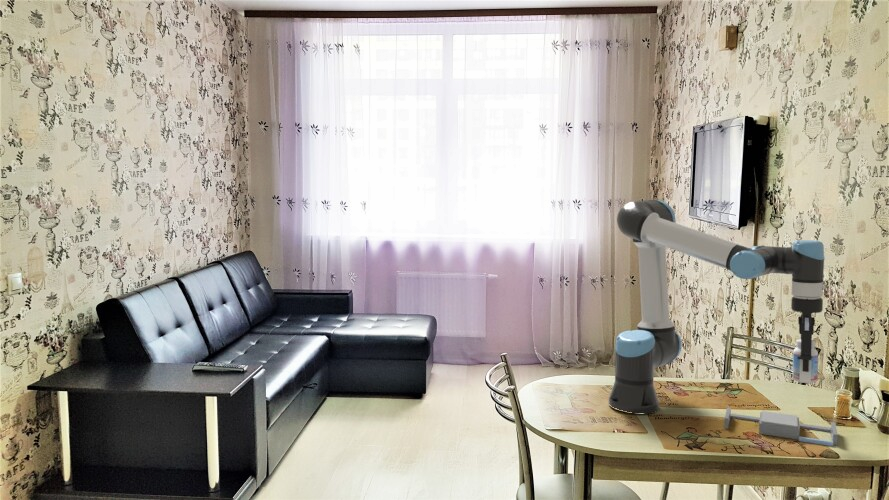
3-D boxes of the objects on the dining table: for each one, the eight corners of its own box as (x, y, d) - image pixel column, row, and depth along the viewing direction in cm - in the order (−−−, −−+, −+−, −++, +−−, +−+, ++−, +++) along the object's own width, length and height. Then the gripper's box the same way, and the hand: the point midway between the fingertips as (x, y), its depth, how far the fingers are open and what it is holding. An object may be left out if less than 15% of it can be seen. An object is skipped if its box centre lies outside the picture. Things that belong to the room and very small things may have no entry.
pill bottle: (820, 384, 179) (821, 343, 178) (796, 383, 180) (797, 342, 179) (813, 377, 185) (814, 338, 184) (789, 376, 186) (790, 337, 185)
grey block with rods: (723, 429, 188) (724, 417, 188) (727, 414, 200) (727, 403, 199) (837, 446, 176) (838, 433, 175) (834, 430, 187) (834, 418, 187)
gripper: (824, 303, 170) (821, 390, 172) (821, 292, 187) (819, 371, 189) (791, 301, 174) (789, 387, 176) (791, 291, 191) (789, 369, 193)
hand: (804, 379), depth 183 cm, fingers closed on pill bottle, 6 cm apart
